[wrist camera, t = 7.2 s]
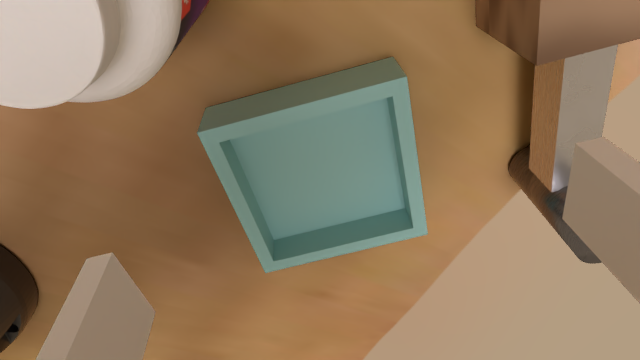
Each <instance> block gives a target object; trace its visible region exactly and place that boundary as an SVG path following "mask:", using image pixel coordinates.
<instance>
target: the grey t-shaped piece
mask: <svg viewBox="0 0 640 360" xmlns="http://www.w3.org/2000/svg"><path fill="white" fill-rule="evenodd" d="M617 47H618V45H614V46H610V47H606V48H603V49H599V50H595V51H591V52H588V53H584V54H580V55H576V56H572V57H569V58H565V59H561V60H557V61H554V62H550V63H546V64H542V65H538V66H536V65H535V72H534V89H533V106H532V123H531V140H530V146H528V147H526V148H524V149H523V150H521V151H520V152H519V153H517V154H516V155H515V157H514V158H513V159H512V161H511V163H510V167H509V173H510V175H511V177H512V178H513V180H514V181H515V182H516V183H517V184H518V186H519V187H520V188H521V189H522V190H523V192H524V193H525V194H526V195H527V196H528V198H529V199H530V200H531V201H532V203H533V204H534V205H535V206H536V207H537V209H538V210H539V211H540V212H541V213H542V215H543V216H544V217H545V218H546V220H547V221H548V222H549V223H550V224H551V226H552V227H553V228H554V229H555V230H556V232H557V233H558V234H559V235H560V236H561V238H562V239H563V240H564V241H565V243H566V244H567V245H568V246H569V247H570V249H571V250H572V251H573V252H574V253H575V255H576V256H577V257H578V258H579V259H580V260H581V261H583V262H586V263H601V260H600V259H599V258H598V257H597V256H596V255H595V254H594V253H593V252H592V251H591V250H590V248H589V247H588V246H587V245H586V244H585V243H584V242H583V241H582V240H581V239H580V238H579V236H578V235H577V234H576V233H575V232H574V231H573V230H572V229H571V228H570V227H569V226H568V224H567V223H566V222H565V221H564V220H563V219H562V217H563V211H564V206H565V200H566V194H567V188H568V183H569V177H570V171H571V165H572V160H573V154H574V148H575V143H579V142H583V141H587V140H592V139H596V138H600V137H602V132H603V127H604V120H605V115H606V110H607V104H608V98H609V93H610V87H611V81H612V76H613V70H614V64H615V59H616V53H617Z"/></svg>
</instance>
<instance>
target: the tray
mask: <svg viewBox="0 0 640 360" xmlns="http://www.w3.org/2000/svg"><path fill="white" fill-rule="evenodd" d="M197 134H198V136H199V138H200V140H201V142H202V144H203V146H204V148H205V150H206V152H207V155H208V157H209V159H210V161H211V163H212V165H213V167H214V169H215V171H216V173H217V175H218V177H219V179H220V181H221V183H222V185H223V187H224V189H225V191H226V193H227V195H228V198H229V200H230V202H231V204H232V206H233V208H234V210H235V212H236V214H237V216H238V218H239V220H240V222H241V224H242V226H243V228H244V230H245V232H246V234H247V236H248V239H249V241H250V243H251V245H252V247H253V249H254V251H255V253H256V255H257V257H258V259H259V261H260V263H261V265H262V267H263V269H264V271H265V273H268V272H272V271H276V270H280V269H285V268H289V267H293V266H297V265H301V264H305V263H310V262H314V261H318V260H322V259H326V258H331V257H335V256H339V255H343V254H347V253H352V252H356V251H360V250H364V249H368V248H372V247H377V246H381V245H385V244H389V243H393V242H398V241H402V240H406V239H410V238H414V237H419V236H423V235H427V234H428V232H427V224H426V217H425V209H424V202H423V194H422V186H421V179H420V171H419V164H418V156H417V149H416V141H415V133H414V126H413V118H412V111H411V103H410V96H409V88H408V80H407V76H406V74H405V73H404V72H403V70H402V69H401V67H400V66H399V64H398V63H397V62H396V60H395V59H394V57H390V58H386V59H383V60H379V61H375V62H372V63H368V64H364V65H361V66H357V67H353V68H350V69H346V70H342V71H339V72H335V73H331V74H328V75H324V76H320V77H317V78H313V79H309V80H306V81H302V82H299V83H295V84H291V85H288V86H284V87H280V88H277V89H273V90H269V91H266V92H262V93H258V94H255V95H251V96H247V97H244V98H240V99H236V100H233V101H229V102H225V103H222V104H218V105H214V106H211V107H207V108H206V109H205V111H204V114H203V117H202V120H201V123H200V126H199V129H198V132H197Z"/></svg>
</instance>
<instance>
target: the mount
mask: <svg viewBox="0 0 640 360" xmlns="http://www.w3.org/2000/svg"><path fill="white" fill-rule="evenodd" d="M476 26H477V27H478V28H480V29H481V30H483V31H484V32H486V33H487V34H489V35H490V36H492V37H493V38H495V39H496V40H498V41H499V42H501V43H503V44H504V45H506V46H507V47H509V48H510V49H512V50H513V51H515V52H516V53H518V54H519V55H521V56H522V57H524V58H525V59H527V60H528V61H530V62H531V63H533V64H534V65H536V66H538V65H542V64H546V63H550V62H554V61H557V60H561V59H565V58H569V57H572V56H576V55H580V54H584V53H588V52H591V51H595V50H599V49H603V48H606V47H610V46H614V45H618V44H622V43H625V42H629V41H633V40H637V39H640V0H476Z"/></svg>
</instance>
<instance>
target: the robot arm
mask: <svg viewBox="0 0 640 360" xmlns="http://www.w3.org/2000/svg"><path fill="white" fill-rule="evenodd" d="M562 219H563V220H564V221H565V222H566V223H567V224H568V226H569V227H570V228H571V229H572V230H573V231H574V232H575V233H576V234H577V235H578V236H579V238H580V239H581V240H582V241H583V242H584V243H585V244H586V245H587V246H588V247H589V248H590V250H591V251H592V252H593V253H594V254H595V255H596V256H597V257H598V258H599V259H600V260H601V262H602V263H603V264H604V265H605V266H606V267H607V268H608V269H609V270H610V271H611V272H612V274H613V275H614V276H615V277H616V278H617V279H618V280H619V281H620V282H621V283H622V284H623V286H624V287H625V288H626V289H627V290H628V291H629V292H630V293H631V294H632V295H633V297H634V298H635V299H636V300H637V301H638V302H639V303H640V162H638V161H637V160H635V159H634V158H633V157H631V156H630V155H629V154H627V153H626V152H624V151H623V150H622V149H620V148H619V147H617V146H616V145H615V144H613V143H612V142H610V141H609V140H608V139H606V138H605V137H600V138H596V139H592V140H587V141H583V142H579V143H575V148H574V154H573V160H572V165H571V171H570V177H569V183H568V188H567V194H566V200H565V206H564V211H563V217H562ZM37 302H38V293H37V288H36V285H35V283H34V280H33V278H32V277H31V275H30V273H29V272H28V271H27V269H26V268H25V267H24V266H23V265H22V263H21V262H20V261H19V260H18V259H17V258H15V257H14V256H13V255H12V254H11V253H10V252H8V251H7V250H6V249H4V248H3V247H1V246H0V353H1V352H2V351H3V350H4V349H5V348H7V347H8V346H9V345H10V344H11V343H12V342H13V341H14V340H15V339H16V338H17V337H18V336H19V335H20V334H21V332H22V331H23V329H24V328H25V326H26V325H27V323H28V321H29V319H30V318H31V316H32V314H33V313H34V311H35V309H36V306H37ZM154 316H155V310H154V309H153V307H152V306H151V305H150V303H149V302H148V301H147V299H146V298H145V296H144V295H143V294H142V292H141V291H140V290H139V288H138V287H137V285H136V284H135V283H134V281H133V280H132V279H131V277H130V276H129V274H128V273H127V272H126V270H125V269H124V268H123V266H122V265H121V263H120V262H119V261H118V259H117V258H116V256H115V255H114V254H113V252H112V253H108V254H104V255H99V256H95V257H91V258H87V259H86V261H85V263H84V265H83V267H82V269H81V271H80V273H79V275H78V277H77V279H76V281H75V283H74V285H73V287H72V289H71V291H70V293H69V295H68V297H67V299H66V301H65V303H64V304H63V306H62V308H61V310H60V312H59V314H58V316H57V318H56V320H55V322H54V324H53V326H52V328H51V330H50V332H49V334H48V336H47V338H46V340H45V342H44V344H43V346H42V348H41V350H40V352H39V354H38V356H37V358H36V360H143V356H144V352H145V349H146V345H147V341H148V338H149V334H150V330H151V327H152V323H153V319H154Z"/></svg>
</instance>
